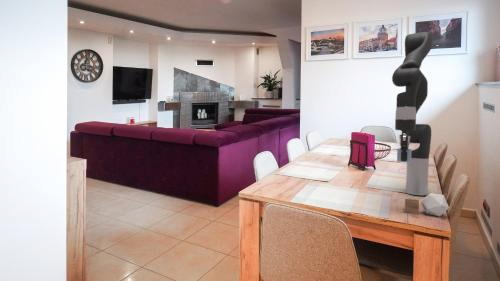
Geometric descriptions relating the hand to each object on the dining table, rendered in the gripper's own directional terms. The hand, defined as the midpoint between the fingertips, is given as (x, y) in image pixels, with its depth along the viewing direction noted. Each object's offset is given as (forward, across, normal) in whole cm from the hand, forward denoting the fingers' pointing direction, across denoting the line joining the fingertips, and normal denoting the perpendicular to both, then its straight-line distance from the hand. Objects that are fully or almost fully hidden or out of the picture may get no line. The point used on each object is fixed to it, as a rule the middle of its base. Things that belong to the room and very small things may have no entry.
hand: (404, 160), depth 130 cm
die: (+16, -1, +6) cm, 17 cm away
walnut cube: (+21, 0, +3) cm, 21 cm away
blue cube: (0, 0, 0) cm, 0 cm away
